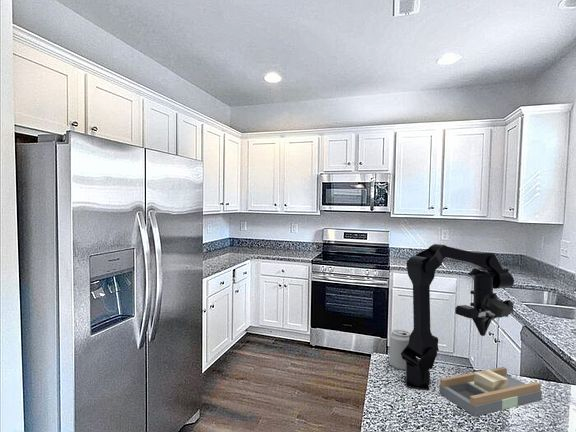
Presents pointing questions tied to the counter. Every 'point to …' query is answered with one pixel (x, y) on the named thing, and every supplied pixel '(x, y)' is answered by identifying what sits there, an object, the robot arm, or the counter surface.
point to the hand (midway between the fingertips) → (482, 335)
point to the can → (398, 348)
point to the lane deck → (488, 393)
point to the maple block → (490, 381)
